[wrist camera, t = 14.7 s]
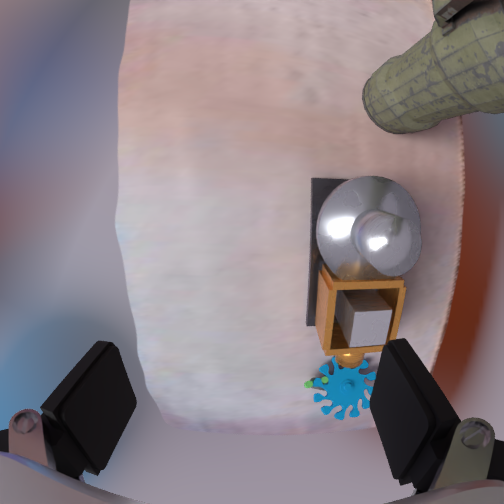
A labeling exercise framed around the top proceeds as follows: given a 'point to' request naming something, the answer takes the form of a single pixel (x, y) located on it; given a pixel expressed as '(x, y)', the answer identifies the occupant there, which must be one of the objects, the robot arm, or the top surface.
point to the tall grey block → (362, 317)
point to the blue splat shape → (342, 388)
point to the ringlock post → (358, 253)
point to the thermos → (443, 70)
